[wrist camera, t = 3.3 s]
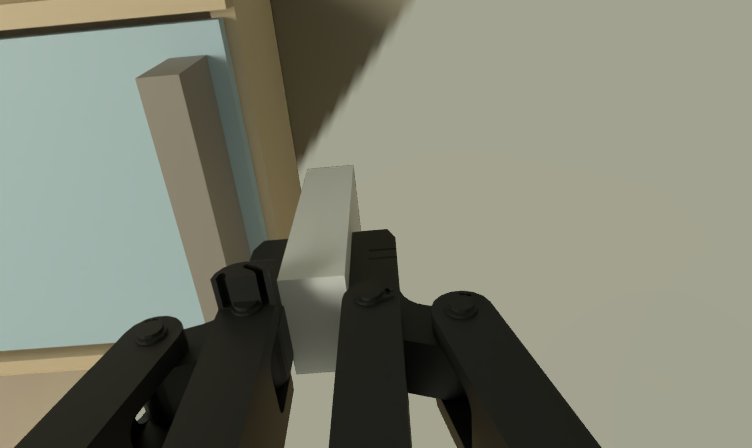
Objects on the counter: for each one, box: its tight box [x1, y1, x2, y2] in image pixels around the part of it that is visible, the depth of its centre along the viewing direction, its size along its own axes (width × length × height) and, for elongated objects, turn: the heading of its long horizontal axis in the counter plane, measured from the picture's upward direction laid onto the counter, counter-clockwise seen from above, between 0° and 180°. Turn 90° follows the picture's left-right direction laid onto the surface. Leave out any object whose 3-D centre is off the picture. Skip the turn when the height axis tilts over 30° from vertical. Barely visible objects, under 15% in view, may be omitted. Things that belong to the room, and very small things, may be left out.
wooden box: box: [0, 0, 301, 376], centre depth 23 cm, size 14×20×7 cm
